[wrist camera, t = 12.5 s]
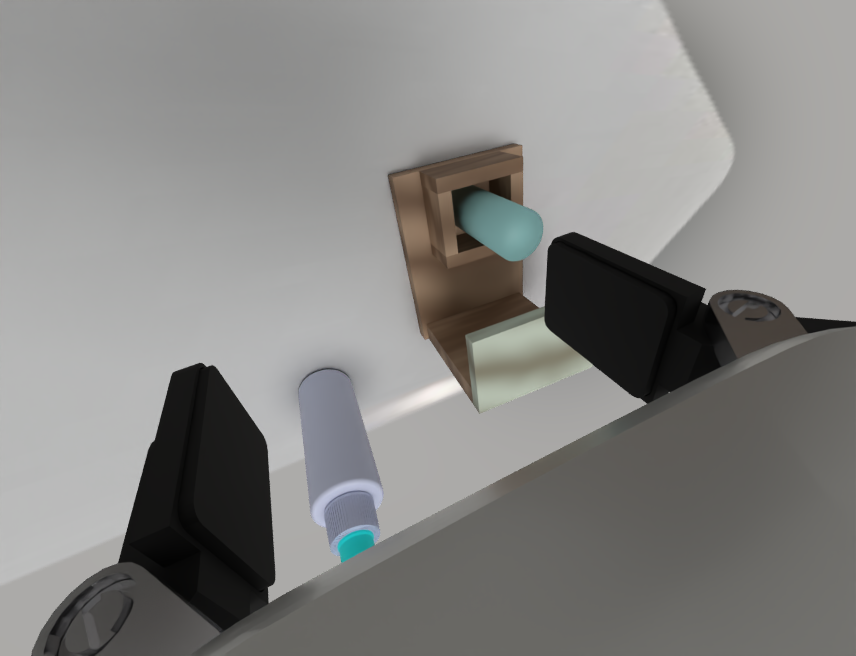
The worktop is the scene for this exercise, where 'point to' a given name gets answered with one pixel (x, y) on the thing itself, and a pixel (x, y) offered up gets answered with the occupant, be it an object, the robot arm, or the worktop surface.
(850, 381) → the robot arm
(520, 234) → the peg
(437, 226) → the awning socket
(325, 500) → the spray bottle
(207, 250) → the worktop surface
